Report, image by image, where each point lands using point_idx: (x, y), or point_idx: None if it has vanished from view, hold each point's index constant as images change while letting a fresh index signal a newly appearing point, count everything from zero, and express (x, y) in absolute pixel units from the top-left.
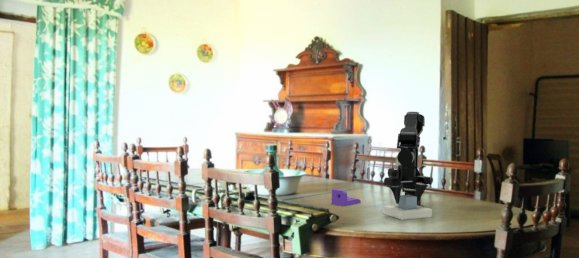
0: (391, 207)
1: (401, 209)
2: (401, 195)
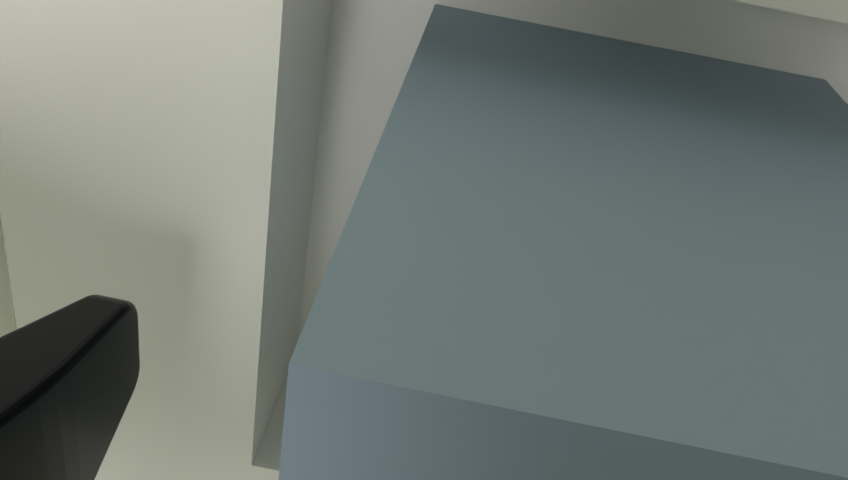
0: (86, 22)
1: (204, 382)
2: (487, 463)
